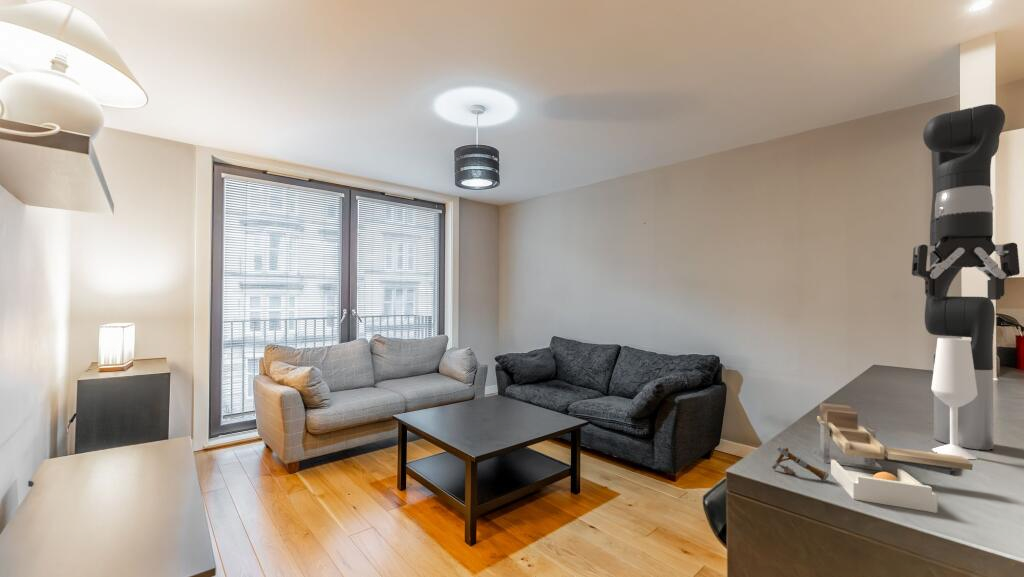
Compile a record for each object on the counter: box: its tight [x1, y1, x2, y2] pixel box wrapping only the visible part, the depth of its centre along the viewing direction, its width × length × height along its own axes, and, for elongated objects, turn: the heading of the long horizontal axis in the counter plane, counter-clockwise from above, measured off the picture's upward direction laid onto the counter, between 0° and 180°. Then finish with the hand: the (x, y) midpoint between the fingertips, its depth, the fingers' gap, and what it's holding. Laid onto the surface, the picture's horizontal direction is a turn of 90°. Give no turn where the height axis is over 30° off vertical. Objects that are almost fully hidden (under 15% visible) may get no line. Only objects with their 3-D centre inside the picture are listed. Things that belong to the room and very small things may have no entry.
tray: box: [830, 460, 938, 514], centre depth 69 cm, size 11×10×4 cm
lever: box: [816, 402, 974, 471], centre depth 80 cm, size 17×17×4 cm
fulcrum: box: [814, 423, 884, 472], centre depth 82 cm, size 6×9×7 cm, turn 68°
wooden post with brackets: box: [771, 446, 830, 483], centre depth 74 cm, size 2×8×4 cm, turn 56°
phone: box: [882, 445, 958, 476], centre depth 84 cm, size 8×1×15 cm
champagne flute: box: [930, 337, 978, 460], centre depth 88 cm, size 7×7×24 cm
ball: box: [873, 471, 900, 482], centre depth 66 cm, size 4×4×4 cm
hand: (963, 299), depth 79 cm, fingers open, 8 cm apart
